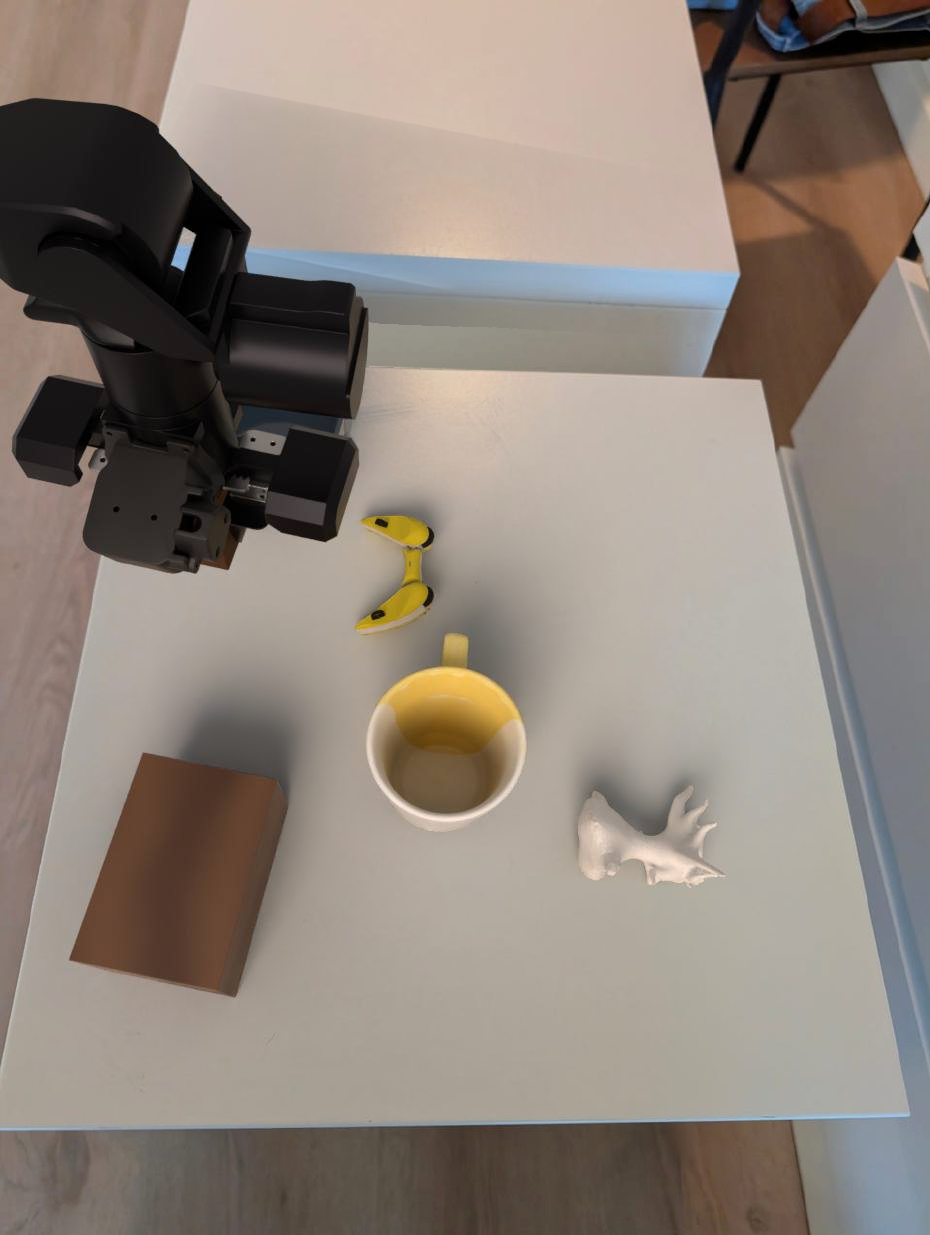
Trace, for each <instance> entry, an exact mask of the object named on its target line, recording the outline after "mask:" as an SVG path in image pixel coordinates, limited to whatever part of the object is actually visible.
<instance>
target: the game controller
mask: <svg viewBox="0 0 930 1235" xmlns="http://www.w3.org/2000/svg"><path fill="white" fill-rule="evenodd" d="M359 523H360V524H361V525H362V526H363V527H364V529H365V530H367V531H369V532H370V533H373V534H376V535H379V536H380V537H382V538H385V539H387V540H388V541H390V542H392V543H394V544H396V545H398V546H400V547H402V552H403V557H404V563H405V564H404V574H403V580H402V582H401V588H400V589H399V590H397V591H396V593H395V594H393V595H392V596H390V597H389V598H388V599H387V600H386V601H385V602H383V603H382V604H381V605H380V606H378V607H377V608H376V609H375V610H373V611H372V612H371V613H370V614H369V615H367V616H366V617H365V618H363V619H361V620H359V622H358V623H356V624H355V626H354V630H355V631H356V632H357V633H358V634H359V635H363V636H365V635H372V634H374V635H375V634H378V633H379V634H380V633H384V632H388V631H392V630H394V629H398V628H400V627H403V626H406V625H408V624H410V623H412V622H414V621H416V620H417V619H419V618H421V617H422V616H423V615H426V614H427V612H428V611H429V610H430V609H431V606H432V604H433V601H434V598H435V592H434V590H433V588H432V587H431V586H429V585H428V584H424V583H423V575H422V566H423V564H422V563H423V552H428V551H429V550H430V549H431V548H432V546H434V540H435V536H436V535H435V531H434V530H433V529H432V528H431V527H430V526H428V525H426V524H425V523H424V522H423V521H422V520H419V519H417V518H414V517H411V516H406V515H376V516H370V517H365V518H362V519H361V520H359Z"/></svg>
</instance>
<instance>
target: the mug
mask: <svg viewBox="0 0 930 1235" xmlns="http://www.w3.org/2000/svg"><path fill="white" fill-rule="evenodd" d="M442 643H443V644H442V649H441V658H440V663H439V664H440V665H439V666H432V667H428V668H423V669H420V670H418V671H417V670H416V671H414V672H411V673H410V674H408V675H406V676H404V677H403V678H401V679H400V680H398V681H397V682H395V683H394V684H393V685H392V686H390V687H389V688H388V689H387V691H385V692H384V694H383V695H382V696H381V697H380V698H379V700H378V701H377V703H376V704H375V706H374V708H373V710H372V712H371V715H370V718H369V720H368V724H367V728H366V733H365V734H366V735H365V752H366V753H365V754H366V758H367V762H368V767H369V769H370V772H371V774H372V777H373V778H374V780H375V782H376V784H377V785H378V787H379V789H380V790H381V791H382V793H383V795H384V796H385V797H386V798H387V800H388V801H389V802H390V803H391V804H392V806H393V808H395V810H396V811H397V813H399V815H400V816H401V817H403V819H405V820H406V821H407V822H408V823H410V824H412V825H414V826H415V827H418V828H420V829H422V830H425V831H429V832H436V833H443V832H444V833H446V832H452V831H457V830H460V829H462V828H464V827H467V826H468V825H470V824H472V823H473V822H474V821H476V820H477V819H479V818H480V817H482V816H484V815H486V814H487V813H489V812H491V811H492V810H493V809H494V808H496V807H497V806H498V805H499V804H501V803H502V802H503V801H504V800H505V799H506V798H507V796H508V795H509V794H510V793H511V792H512V790H513V789H514V788H515V786H516V785H517V782H518V781H519V779H520V777H521V776H522V775H521V774H522V772H523V770H524V767H525V763H526V759H527V753H528V752H527V751H528V736H527V730H526V726H525V721H524V719H523V716H522V713H521V712H520V709H519V708H518V706H517V704H516V702H515V701H514V699H513V698H512V696H510V695H509V693H508V692H507V691H506V690H505V689H504V688H503V687H502V686H501V685H500V684H498V683H497V682H496V681H494V680H493V679H491V678H490V677H489V676H487V675H485V674H483V673H481V672H478V671H476V670H473V669H470V668H467V666H468V655H469V637H468V636H467V635H464V634H462V633H457V632H450V633H447V634H445V635H444V637H443V642H442Z"/></svg>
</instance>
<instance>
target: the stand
mask: <svg viewBox="0 0 930 1235" xmlns="http://www.w3.org/2000/svg"><path fill="white" fill-rule="evenodd" d="M288 810H289V804H288V801H287V799H286V797H285V795H284V792H283V790H282V788H281V785H280V783H279V781H278V779H276V778H271V777H265V776H261V775H255V774H251V773H246V772H241V771H236V770H231V769H227V768H222V767H217V766H211V765H206V764H202V763H197V762H192V761H187V760H182V759H178V758H173V757H168V756H164V755H158V754H153V753H148V752H142V754H141V756H140V758H139V762H138V765H137V767H136V769H135V773H134V776H133V779H132V781H131V784H130V787H129V790H128V793H127V796H126V798H125V801H124V803H123V806H122V809H121V812H120V815H119V817H118V821H117V823H116V826H115V830H114V832H113V835H112V838H111V841H110V843H109V846H108V848H107V851H106V854H105V857H104V860H103V863H102V865H101V868H100V871H99V874H98V877H97V879H96V883H95V885H94V888H93V890H92V891H93V892H92V893H91V897H90V899H89V901H88V905H87V908H86V910H85V912H84V916H83V918H82V922H81V924H80V927H79V930H78V933H77V935H76V938H75V941H74V944H73V946H72V950H71V952H70V955H69V957H68V961H70V962H73V963H77V964H81V965H84V966H88V967H91V968H95V969H99V970H102V971H107V972H111V973H115V974H121V975H125V976H130V977H134V978H135V977H136V978H140V979H144V980H148V981H149V980H150V981H154V982H159V983H164V984H169V985H173V986H179V987H183V988H188V989H193V990H197V991H202V992H206V993H212V994H215V995H221V996H226V997H231V998H236V997H237V994H238V990H239V987H240V983H241V979H242V975H243V973H244V968H245V965H246V962H247V958H248V957H247V956H248V954H249V950H250V947H251V943H252V939H253V937H254V932H255V928H256V925H257V921H258V918H259V914H260V910H261V907H262V904H263V900H264V897H265V892H266V889H267V885H268V882H269V879H270V876H271V875H270V874H271V870H272V867H273V864H274V860H275V856H276V853H277V849H278V846H279V843H280V842H279V841H280V838H281V834H282V831H283V827H284V824H285V821H286V817H287V812H288Z"/></svg>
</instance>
